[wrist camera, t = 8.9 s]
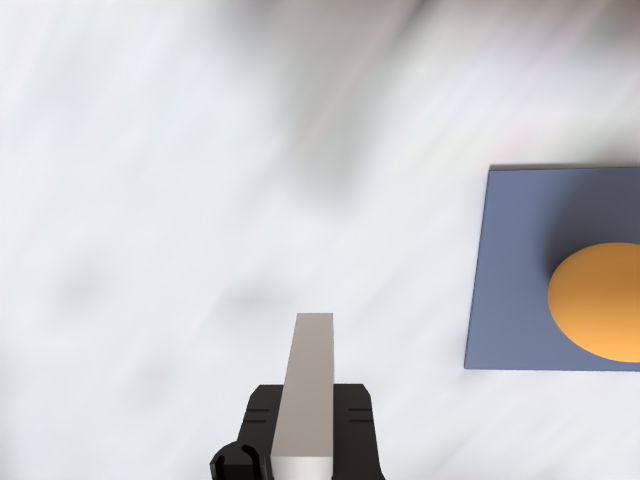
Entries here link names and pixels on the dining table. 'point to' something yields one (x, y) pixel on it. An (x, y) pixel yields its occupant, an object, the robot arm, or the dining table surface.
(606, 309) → the ball
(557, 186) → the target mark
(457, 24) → the dining table surface
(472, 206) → the dining table surface
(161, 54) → the dining table surface
